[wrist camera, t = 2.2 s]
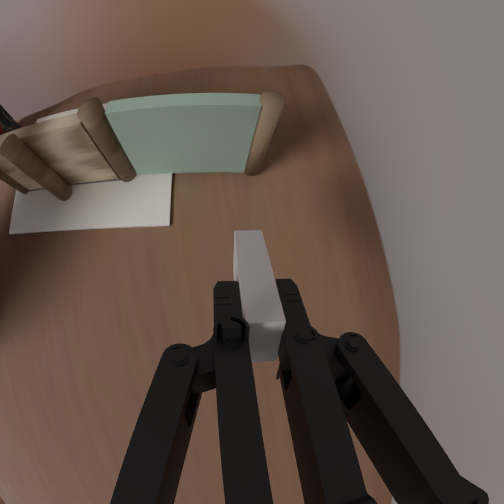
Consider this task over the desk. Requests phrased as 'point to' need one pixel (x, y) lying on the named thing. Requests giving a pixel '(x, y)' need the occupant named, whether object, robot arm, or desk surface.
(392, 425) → the robot arm
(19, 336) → the desk surface
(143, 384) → the desk surface
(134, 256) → the desk surface
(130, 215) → the card
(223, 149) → the fence gate
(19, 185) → the fence fixed
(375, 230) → the desk surface
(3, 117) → the deodorant
